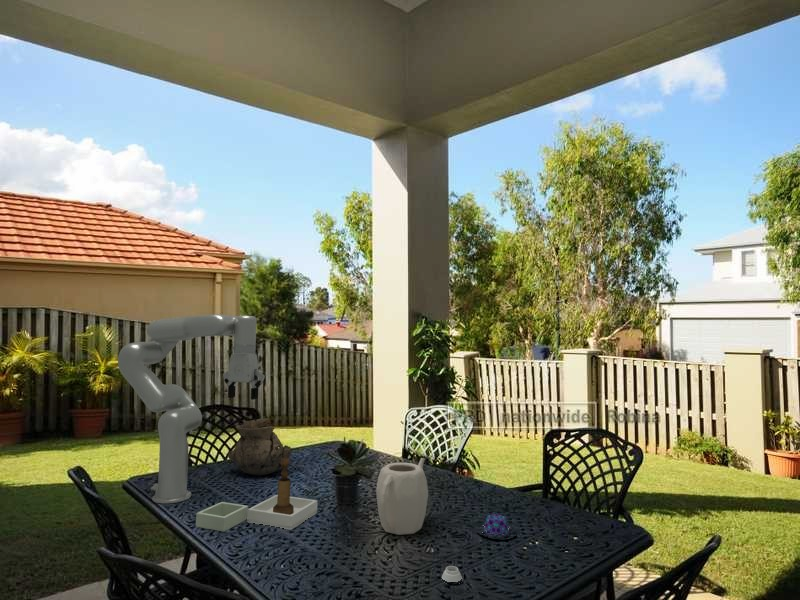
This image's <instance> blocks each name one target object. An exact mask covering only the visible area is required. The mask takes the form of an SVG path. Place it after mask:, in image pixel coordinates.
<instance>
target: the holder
mask: <svg viewBox="0 0 800 600" xmlns="http://www.w3.org/2000/svg"><path fill="white" fill-rule="evenodd" d="M248 509H249V505H243V504H239V503H231V502H226V501H221V502H219V503H216V504H214V505H212V506H210V507H207V508H204V509H203V510H201V511H198V512H197V513H196V515H195V517H196V519H195V527H197V528H201V529H207V530H213V531H218V532H226V531H228V530H230V529H232V528H234V527H236V526H237V525H240V524H241V523H243V522H244V521H247V520H246V519H247V511H248Z"/></svg>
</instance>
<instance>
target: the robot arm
mask: <svg viewBox="0 0 800 600" xmlns="http://www.w3.org/2000/svg"><path fill="white" fill-rule="evenodd" d="M146 334H147V336H148V338H149V339H150V340H151V341H136V342H129V343H128V344H125V345H124V346H122V347H121V350H120V351H119V353H118V357H117V365H118V370H119V371H120V374H121V375H122V376H123V378H124V379H125V381H127V382H128V383H129V385H130V386H131V387H132V388H133V390H134V392H135V393H136V394H137V396H138V397H139V398H140V400H141V401H142V402H143V403H144V405H145V406H146V407H147V409H148V410H149V411H151V412H153V413H161V412H164V413H163V414H161V416H160V417H159V419H158V422H157V430H158V436H159V454H158V455H159V460H158V475H157V476H158V480H157V483H156V482H155V483H153V486H151V487H150V491H154V493H155V494H154V495H153V496H152V502H154V503H156V504H165V505H166V504H174V503H181V502H183V501H186V500H188V499H190V498H191V497H192V491H190V490H188V486H187V485H188V467H189V440H188V437H187V433H189V432H192V431H194V430H197V428H199V427H200V425H201V424H202V421H203V415H202V412H201V410H200V409H199V407H198V405H197V404H196V403H195V401H194V400H193V399H192V398H191V396H189V394H188V393H187V391H186V390H185V389H184V388H183V387H181V386H180V385H178V384H174V383H170V384H163V382H162V381H161V380H160V379H159V377H158V376H157V375H156V374H155V373H154V371H152V370H151V369H150V368H148V367H147V366H146V365H153V364H158V363H159V362H162V361H163V360H164V359H165V358H166V357H167V356H168V355H169V354H170V352H172V350H173V349H175V347H176V346H177V345H178V344H179V342H180V341H192V340H193V339H195V338H200V337H214V336H217V337H219V336H224V337H225V336H233V346H231V351H233V353H231V354H230V358H229V361H228V363H229V364H228V370H227V371H226V372H224V373H222V376H223V381H224V383H225V384H226V387H227V398H228V399H232V398H235V397H236V385H235V384H237V383H244V384H246V383H249V384H250V386H251V387H252V388H250V400H252V401H253V400H258V398H259V388H260V387H261V385H262V384H263V383H264V380H265V378H266V375H264V374H263V373H261V372H260V371H259V361H258V356H257V355H258V354H256V350H257V349H256V347H257V346H256V344H257V343H256V341H257V318H256V316H254V315H230V314H223V313H222V314H220V313H219V314H218V313H216V314H215V313H214V314H204V315H203V314H200V315H194V316H193V315H192V316H183V317H182V316H181V317H171V318H160V319H156V320H153V321H151V322H150V323H149V324H148V325H147V328H146Z"/></svg>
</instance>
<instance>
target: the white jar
mask: <svg viewBox="0 0 800 600" xmlns="http://www.w3.org/2000/svg"><path fill="white" fill-rule="evenodd" d="M441 578H442V579H443V580H445V581H447V582H458V581H460V580H461V579H462V580H463V577H462V574H461V571H460V570H459V568H458V567H457V566H453V565H448V566H446V567H445V569H444V571H443V573H442V575H441ZM442 579H441V580H442Z"/></svg>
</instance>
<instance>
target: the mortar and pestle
mask: <svg viewBox="0 0 800 600" xmlns="http://www.w3.org/2000/svg"><path fill="white" fill-rule="evenodd" d="M280 464H281V466H282V468H281V469H282V470H281V472H280V475H281V477H280V478H278V480H277V483H278V484H277V495H278V500H277V504H276V505H275V506H274V507H273V512H275V513H281V514H288V515H291V514H293V512H294V507H293V505H292V504H290V497H291V478H290V477H288V474H289V471H288V467H289V466H290V458H289V459H288V458H287V457H284V458H282V459H281V461H280Z"/></svg>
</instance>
